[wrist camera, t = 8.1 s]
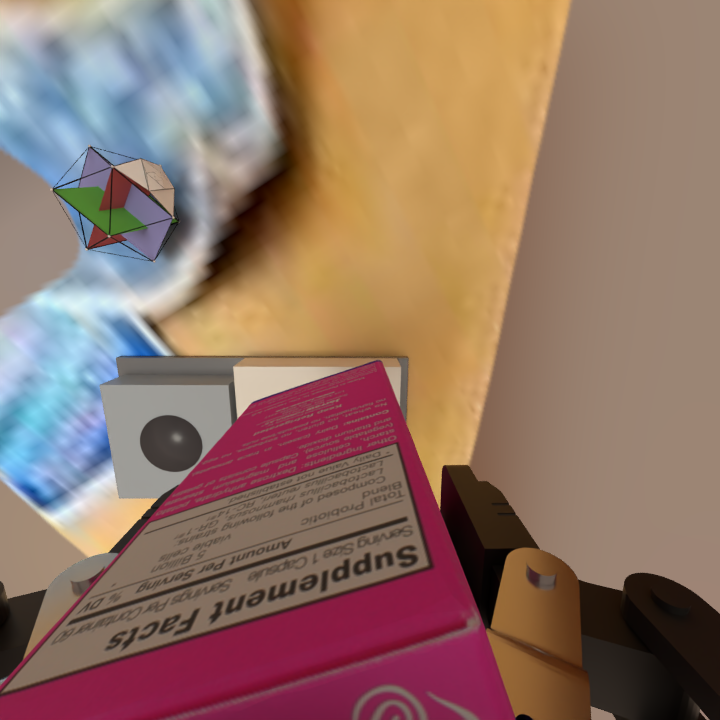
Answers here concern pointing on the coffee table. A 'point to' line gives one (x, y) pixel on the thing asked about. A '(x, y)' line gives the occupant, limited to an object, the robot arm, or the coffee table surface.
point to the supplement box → (280, 585)
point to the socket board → (199, 407)
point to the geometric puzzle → (123, 202)
